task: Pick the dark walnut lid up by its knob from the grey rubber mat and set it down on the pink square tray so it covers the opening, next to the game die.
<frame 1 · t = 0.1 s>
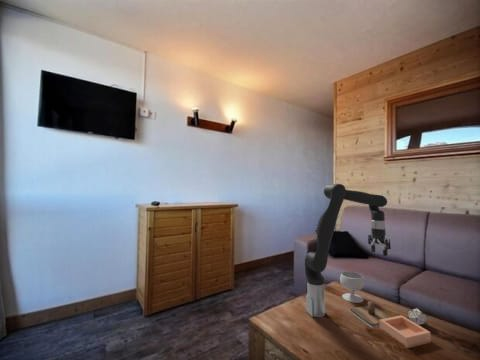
hand: (379, 253, 139), 29 cm above the table, fingers open, 8 cm apart
pink square tray: (404, 335, 107), on the table
mat: (371, 316, 123), on the table
game die: (417, 325, 115), on the table
chalice: (352, 298, 142), on the table
lid: (371, 315, 123), resting on mat
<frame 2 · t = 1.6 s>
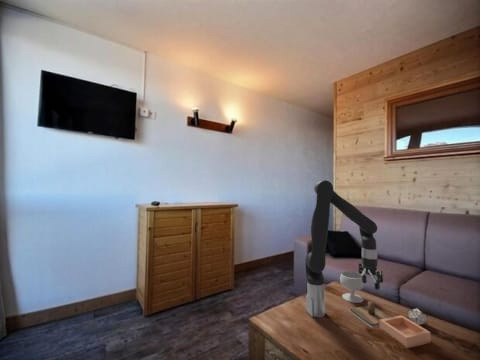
hand: (370, 286, 123), 16 cm above the table, fingers open, 8 cm apart
nothing on the table moved.
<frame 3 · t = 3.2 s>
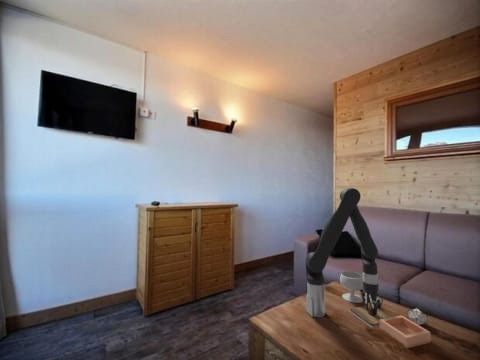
hand: (371, 312, 123), 2 cm above the table, fingers closed on lid, 3 cm apart
lid: (371, 315, 123), resting on mat, touching gripper
everything else where it was.
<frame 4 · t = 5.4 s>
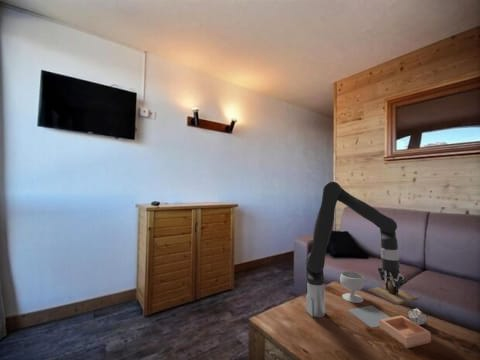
hand: (392, 291, 113), 18 cm above the table, fingers closed on lid, 3 cm apart
lid: (392, 295, 113), point 16 cm above the table, touching gripper
everything else where it was.
when the fingers open (8 cm above the table, at t = 7.5 s): lid drops 1 cm, resting on pink square tray.
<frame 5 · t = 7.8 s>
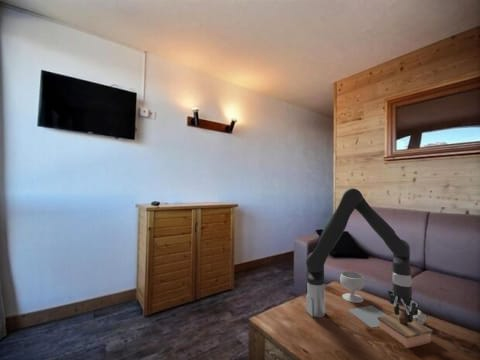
hand: (403, 318, 107), 8 cm above the table, fingers open, 5 cm apart
lid: (403, 325, 107), point 4 cm above the table, touching pink square tray
everything else where it was.
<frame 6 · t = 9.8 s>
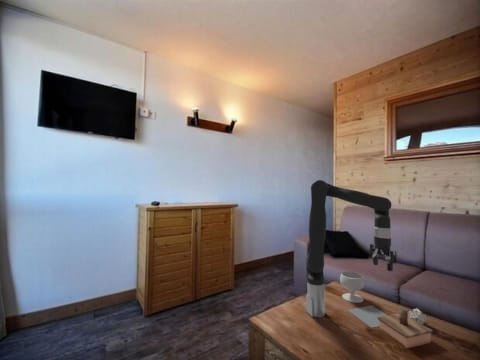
hand: (382, 267, 115), 29 cm above the table, fingers open, 8 cm apart
nothing on the table moved.
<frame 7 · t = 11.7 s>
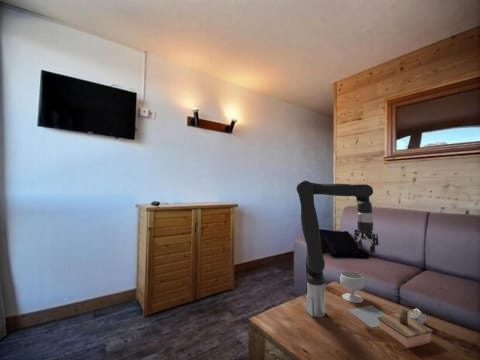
hand: (366, 250, 122), 36 cm above the table, fingers open, 8 cm apart
nothing on the table moved.
at the end: lid 0.1 cm off-centre on the pink square tray, point 4.5 cm above the pink square tray's base; lid tilted 0°; the gripper is holding nothing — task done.
